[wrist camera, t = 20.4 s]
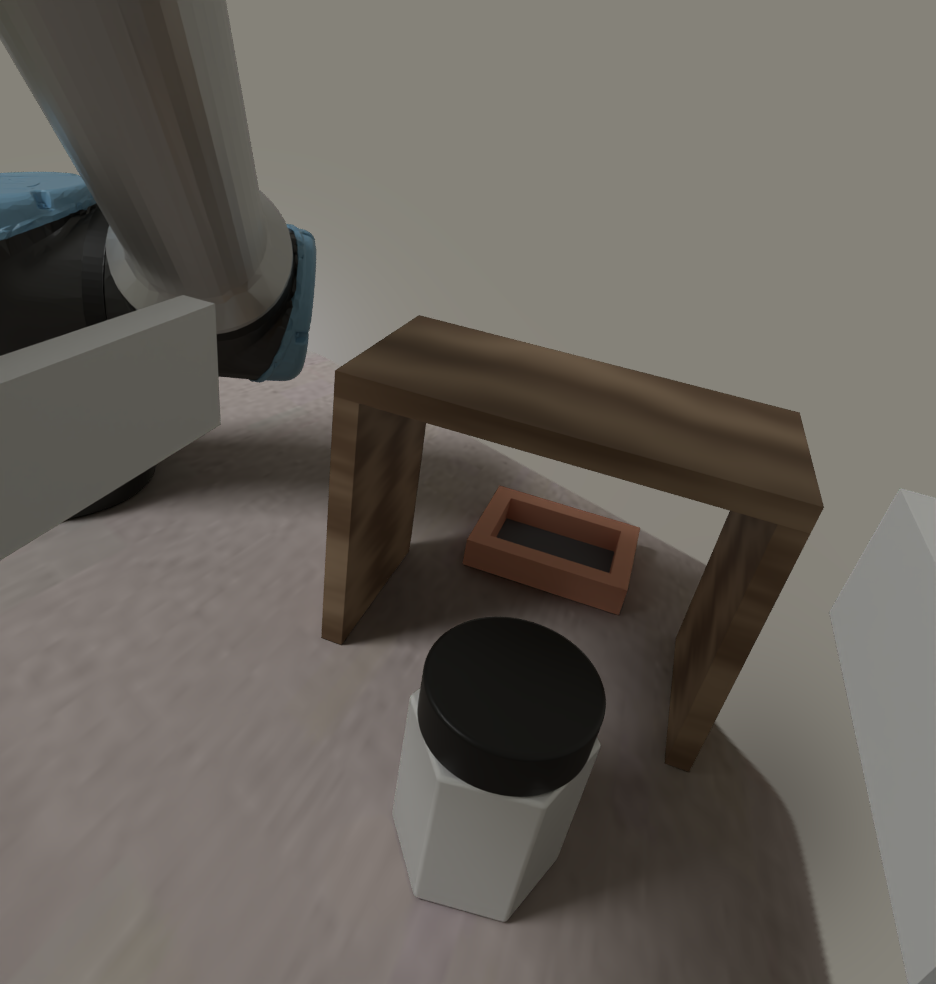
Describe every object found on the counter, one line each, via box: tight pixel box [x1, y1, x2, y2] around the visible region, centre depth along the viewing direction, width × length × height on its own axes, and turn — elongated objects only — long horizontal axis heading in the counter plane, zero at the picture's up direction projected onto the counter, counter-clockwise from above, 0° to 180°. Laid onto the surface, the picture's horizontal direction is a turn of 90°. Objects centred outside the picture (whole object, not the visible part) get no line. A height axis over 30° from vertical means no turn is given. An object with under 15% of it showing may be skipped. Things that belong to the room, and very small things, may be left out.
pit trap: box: [463, 486, 640, 615], centre depth 58 cm, size 10×13×2 cm
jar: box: [392, 617, 606, 922], centre depth 33 cm, size 9×8×12 cm
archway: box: [321, 315, 824, 772], centre depth 44 cm, size 12×25×20 cm, turn 71°
